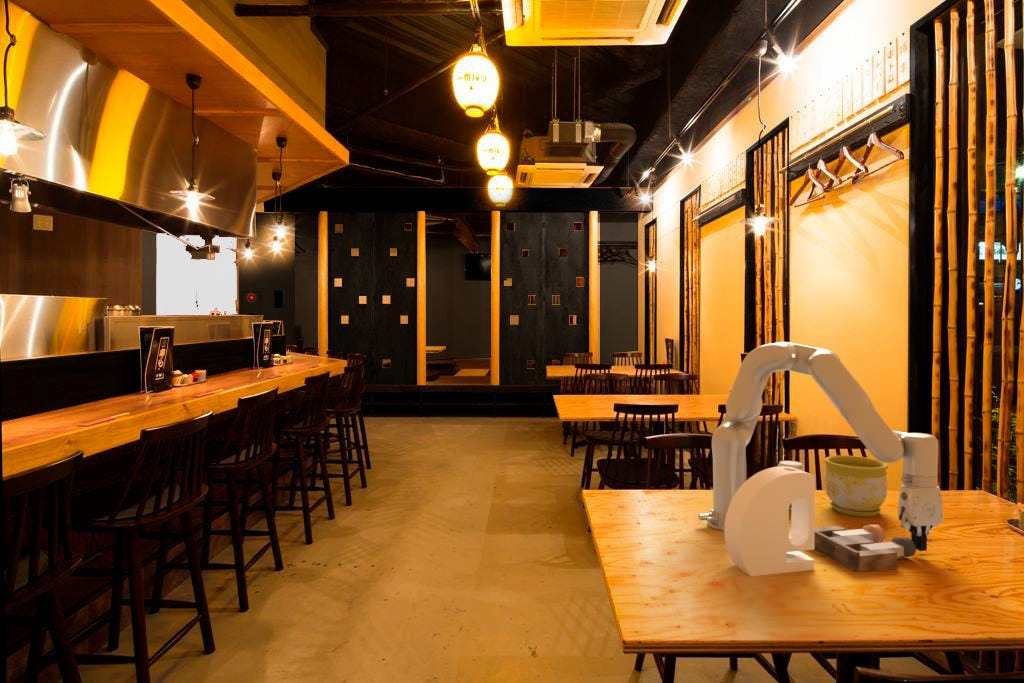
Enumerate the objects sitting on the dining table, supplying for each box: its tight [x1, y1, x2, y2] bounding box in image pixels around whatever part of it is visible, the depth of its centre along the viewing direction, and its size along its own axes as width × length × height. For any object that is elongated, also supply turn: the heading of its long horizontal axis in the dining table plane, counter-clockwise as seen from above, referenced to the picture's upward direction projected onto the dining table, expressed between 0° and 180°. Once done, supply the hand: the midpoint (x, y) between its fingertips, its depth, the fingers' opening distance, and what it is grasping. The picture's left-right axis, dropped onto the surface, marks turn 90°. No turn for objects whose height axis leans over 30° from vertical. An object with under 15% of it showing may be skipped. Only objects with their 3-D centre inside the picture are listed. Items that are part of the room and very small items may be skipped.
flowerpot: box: [824, 455, 889, 518], centre depth 193 cm, size 18×18×16 cm
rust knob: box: [832, 524, 886, 543], centre depth 164 cm, size 13×5×5 cm, turn 101°
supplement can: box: [776, 460, 805, 511], centre depth 198 cm, size 8×8×15 cm
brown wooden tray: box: [814, 525, 898, 573], centre depth 157 cm, size 12×20×5 cm, turn 11°
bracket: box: [723, 466, 816, 577], centre depth 149 cm, size 7×21×25 cm, turn 101°
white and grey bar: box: [860, 536, 917, 558], centre depth 154 cm, size 13×5×5 cm, turn 101°
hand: (918, 548), depth 156 cm, fingers closed
